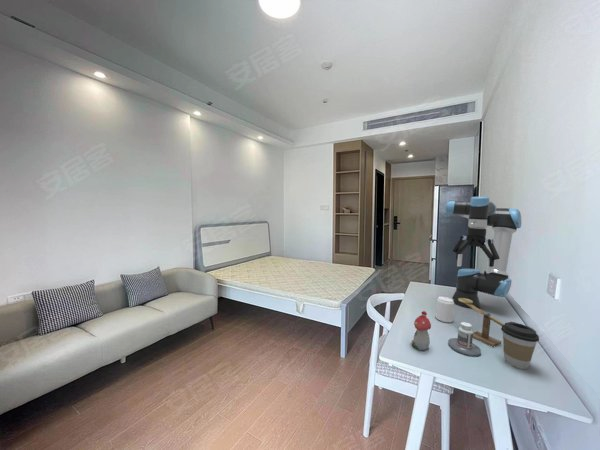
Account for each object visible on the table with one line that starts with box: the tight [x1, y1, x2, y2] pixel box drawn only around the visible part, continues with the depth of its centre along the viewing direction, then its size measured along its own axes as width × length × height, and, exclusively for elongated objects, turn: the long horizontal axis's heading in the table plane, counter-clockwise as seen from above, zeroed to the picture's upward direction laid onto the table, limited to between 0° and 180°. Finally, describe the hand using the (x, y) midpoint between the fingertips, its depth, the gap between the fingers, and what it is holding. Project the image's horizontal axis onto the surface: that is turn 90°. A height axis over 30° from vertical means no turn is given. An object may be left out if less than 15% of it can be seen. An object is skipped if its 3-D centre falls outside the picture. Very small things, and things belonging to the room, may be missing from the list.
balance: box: [458, 298, 517, 348], centre depth 114 cm, size 7×26×16 cm, turn 27°
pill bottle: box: [457, 321, 474, 349], centre depth 106 cm, size 5×5×10 cm
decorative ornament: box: [411, 310, 432, 351], centre depth 106 cm, size 9×7×15 cm
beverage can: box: [435, 296, 455, 324], centre depth 133 cm, size 8×8×12 cm
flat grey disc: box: [447, 337, 482, 358], centre depth 107 cm, size 12×12×1 cm
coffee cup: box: [500, 321, 540, 370], centre depth 97 cm, size 11×11×15 cm
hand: (473, 269), depth 122 cm, fingers open, 13 cm apart
